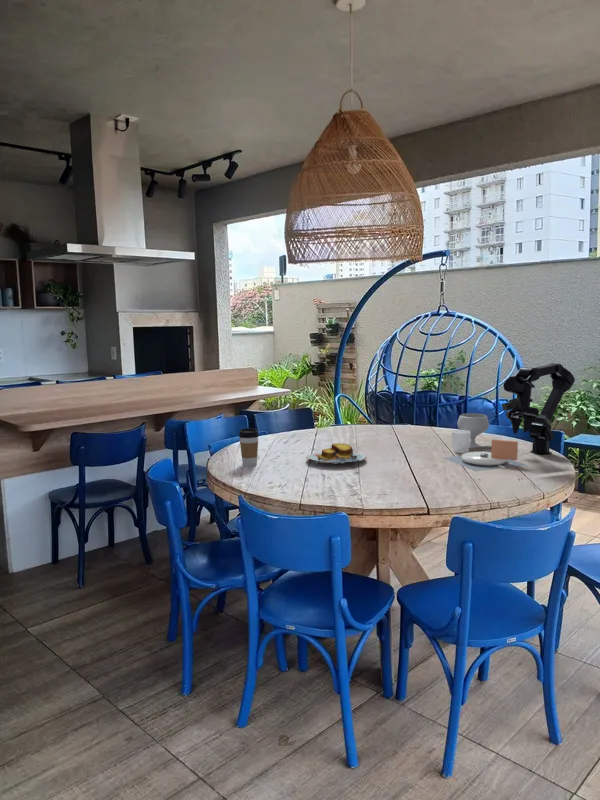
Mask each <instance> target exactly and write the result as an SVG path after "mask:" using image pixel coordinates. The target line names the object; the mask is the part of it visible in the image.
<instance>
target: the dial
mask: <svg viewBox="0 0 600 800" xmlns="http://www.w3.org/2000/svg"><path fill="white" fill-rule="evenodd" d="M518 444H519V442H518V441H515V440H504V439H494V438H493V439H491V446H490V450H491V451H486V452H482V451H469V452H467V453H461V456H462V461H464V462H467V463H471V464H476V465H500V464H504V463H506V462H507V459H508V460H514V461H518V452H519V451H518V450H519V445H518Z"/></svg>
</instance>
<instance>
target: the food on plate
mask: <svg viewBox="0 0 600 800" xmlns="http://www.w3.org/2000/svg"><path fill="white" fill-rule="evenodd" d="M321 450H322V451H321V452H317V453H312V454H308V455H307V456H306V461H308V459H309V460H311V461H314V462H315V464H317V463H320V464H322V463H323V464H330V463H331V464H334V465H335V464H336V465H337V464H345V463H346V462H350V463H354V462H355V463H356V462H362V461H363V460H364V461H365V460H367V455H364V454H361V453H354V448H353V447H352V446H351V445H350V444H348V443H332V444H331V447H329V448H325V449H324V448H323V449H321Z"/></svg>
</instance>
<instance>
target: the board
mask: <svg viewBox="0 0 600 800" xmlns="http://www.w3.org/2000/svg"><path fill="white" fill-rule="evenodd" d="M443 459H446V460H448V461H449V462H452V463H455V464H458V465H460V466H463V467H464V468H466V469H469V470H472V471H475V472H480V471H489V470H498V469H499V470H500V469H506V468H507V469H508V468H517V467H523V466H524V467H525V466H527V467H528V464H526V463H522V462H519V461H518V460H508V459H507V462H506V463H504V464H500V465H476V464H471V463H467V462H464V461H462V455H455V456H447V457H445V456H444V457H443Z"/></svg>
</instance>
